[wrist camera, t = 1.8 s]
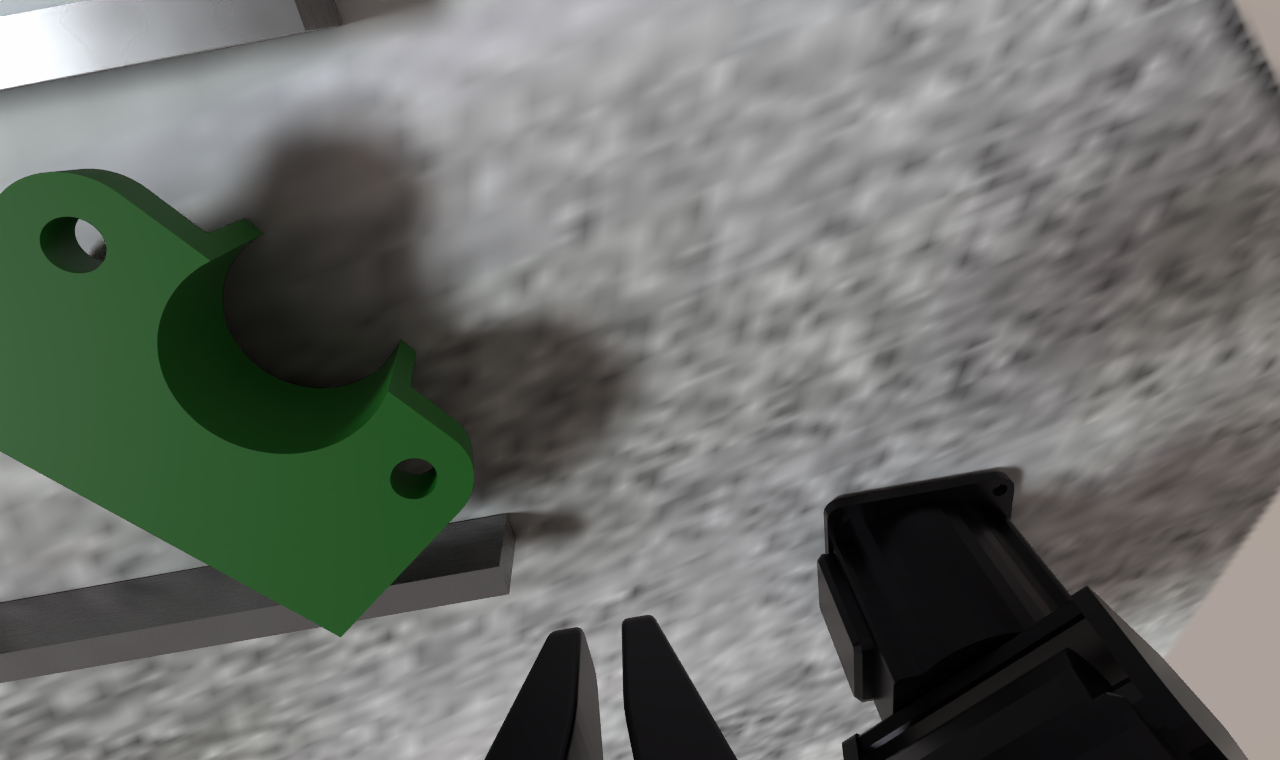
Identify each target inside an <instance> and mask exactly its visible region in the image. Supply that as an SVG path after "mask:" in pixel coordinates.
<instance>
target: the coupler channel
mask: <svg viewBox="0 0 1280 760" xmlns="http://www.w3.org/2000/svg"><path fill="white" fill-rule="evenodd" d="M337 26H342V23H341V20H340V17H339V14H338V11H337V8H336V5H335V2H334V0H86V1H81V2H75V3H70V4H65V5H60V6H55V7H49V8H44V9H39V10H34V11H29V12H23V13H18V14H13V15H8V16H3V17H0V91H1V90H6V89H11V88H17V87H22V86H27V85H32V84H38V83H43V82H48V81H53V80H59V79H64V78H69V77H74V76H80V75H85V74H90V73H95V72H101V71H106V70H111V69H116V68H122V67H127V66H132V65H137V64H143V63H148V62H153V61H158V60H164V59H169V58H174V57H179V56H185V55H190V54H195V53H200V52H206V51H211V50H216V49H221V48H227V47H232V46H237V45H242V44H248V43H253V42H258V41H263V40H269V39H274V38H279V37H284V36H290V35H295V34H300V33H305V32H311V31H316V30H321V29H326V28H332V27H337ZM515 541H516V540H515V537H514V534H513V531H512V528H511V525H510V522H509V519H508V516H507V514H502V515H496V516H491V517H485V518H479V519H474V520H468V521H462V522H457V523H451V524H447V525H446V526H445V528H444V529H443V530H442V531H441V532H440V533H439V534H438V535H437V536H436V537H435V538H434V539H433V540H432V541H431V542H430V543H429V544H428V545H427V547H426V548H425V549H424V550H423V551H422V552H421V553H420V554H419V555H418V556H417V557H416V558H415V559H414V560H413V561H412V562H411V563H410V565H409V566H408V567H407V568H406V569H405V570H404V571H403V572H402V573H401V574H400V575H399V576H398V577H397V578H396V579H395V580H394V581H393V583H392V584H391V585H390V586H389V587H388V588H387V589H386V590H385V591H384V592H383V593H382V594H381V595H380V596H379V597H378V598H377V599H376V600H375V602H374V603H373V604H372V605H371V606H370V607H369V608H368V609H367V610H366V611H365V612H364V613H363V614H362V615H361V616H360V617H359V618H358V620H363V619H369V618H375V617H380V616H386V615H392V614H398V613H403V612H409V611H415V610H420V609H426V608H432V607H438V606H443V605H449V604H455V603H461V602H466V601H472V600H478V599H483V598H489V597H495V596H501V595H506V594H509V590H510V582H511V574H512V565H513V557H514V549H515ZM358 620H357V621H358ZM318 627H321V626H319V625H317V624H316V623H314V622H312V621H310V620H308V619H306V618H305V617H303V616H301V615H299V614H297V613H295V612H294V611H292V610H290V609H288V608H286V607H284V606H283V605H281V604H279V603H277V602H275V601H273V600H272V599H270V598H268V597H266V596H264V595H262V594H261V593H259V592H257V591H255V590H253V589H251V588H250V587H248V586H246V585H244V584H242V583H240V582H239V581H237V580H235V579H233V578H231V577H229V576H228V575H226V574H224V573H222V572H220V571H218V570H217V569H215V568H213V567H211V566H208V567H202V568H197V569H191V570H185V571H180V572H174V573H168V574H163V575H157V576H151V577H146V578H140V579H134V580H129V581H123V582H117V583H112V584H106V585H101V586H95V587H89V588H84V589H78V590H72V591H67V592H61V593H55V594H50V595H44V596H38V597H33V598H27V599H21V600H16V601H10V602H4V603H0V683H3V682H9V681H14V680H20V679H26V678H31V677H37V676H43V675H49V674H54V673H60V672H66V671H72V670H77V669H83V668H89V667H94V666H100V665H106V664H112V663H117V662H123V661H129V660H134V659H140V658H146V657H152V656H157V655H163V654H169V653H174V652H180V651H186V650H192V649H197V648H203V647H209V646H215V645H220V644H226V643H232V642H237V641H243V640H249V639H255V638H260V637H266V636H272V635H277V634H283V633H289V632H295V631H300V630H306V629H312V628H318Z"/></svg>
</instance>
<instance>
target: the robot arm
mask: <svg viewBox="0 0 1280 760" xmlns="http://www.w3.org/2000/svg"><path fill="white" fill-rule="evenodd" d="M998 485H999V486H998ZM996 486H998V487H997V488H995V487H996ZM994 488H995V489H994ZM1013 494H1014V483H1013V482H1012V481H1011V480H1010V479H1009V477H1008V476H1007V475H1006V474H1005V473H1003V472H991V473H986V474H980V475H974V476H969V477H963V478H957V479H952V480H946V481H940V482H934V483H929V484H923V485H917V486H912V487H906V488H900V489H895V490H889V491H883V492H878V493H872V494H866V495H861V496H855V497H849V498H843V499H838V500H835V501H832V502H830V503H829V504H828V505H827V506H826V507H825V509H824V530H825V553H826V554H822V555H821V556H820V558H819V559H818V561H817V567H818V586H819V605H820V609H821V612H822V615H823V617H824V620H825V622H826V625H827V628H828V630H829V633H830V635H831V638H832V641H833V643H834V646H835V648H836V651H837V654H838V656H839V659H840V661H841V664H842V667H843V669H844V672H845V674H846V677H847V680H848V682H849V685H850V687H851V690H852V693H853V695H854V697H856V698H857V699H859V700H860V701H861V702H866V701H872V700H874V703H875V705H876V708H877V710H878V712H879V715H880V717H881V720H882V721H881V722H880V723H878V724H877V725H875V726H873V727H872V728H870V729H869V730H867V731H866V732H864V733H862V734H861V735H859V734H857V733H856V734H855V735H853V736H852V737H850V738H849V739H847V740H845V741H844V742H842V748H843V757H844V760H1248V758H1247V757H1246V756H1245V755H1244V753H1243V752H1242V750H1241V749H1240V748H1239V746H1238V745H1237V743H1236V742H1235V741H1234V739H1233V738H1232V737H1231V735H1230V734H1229V732H1228V731H1227V730H1226V729H1225V728H1224V726H1223V725H1222V724H1221V723H1220V722H1219V720H1217V718H1216V717H1215V716H1214V715H1213V714H1212V713H1211V712H1210V710H1209V709H1208V708H1207V707H1206V706H1205V705H1204V704H1203V702H1202V701H1201V700H1200V699H1199V698H1198V697H1197V696H1196V695H1195V694H1194V692H1193V691H1192V690H1191V689H1190V688H1189V687H1188V686H1187V685H1186V684H1185V682H1184V681H1183V680H1182V679H1181V678H1180V677H1179V676H1178V675H1177V673H1176V672H1175V671H1174V670H1173V669H1172V668H1171V667H1170V666H1169V665H1168V663H1167V662H1166V661H1165V660H1164V659H1163V658H1162V657H1161V656H1160V655H1159V654H1158V653H1157V652H1156V651H1155V650H1154V649H1153V648H1152V647H1151V646H1150V645H1149V644H1148V643H1147V642H1146V641H1145V640H1144V639H1143V638H1142V637H1140V636H1139V635H1138V634H1137V633H1136V632H1135V631H1134V630H1133V629H1132V628H1131V627H1130V626H1129V625H1128V624H1127V623H1126V622H1125V621H1124V620H1123V619H1122V618H1121V617H1120V616H1119V615H1118V614H1116V613H1115V612H1114V611H1113V610H1112V609H1111V608H1110V607H1109V606H1108V605H1107V604H1106V603H1105V602H1104V601H1103V600H1102V599H1101V598H1100V597H1099V596H1098V595H1097V594H1096V593H1095V592H1094V591H1093V590H1091V589H1090V588H1089V587H1088V586H1086V587H1084V588H1083V589H1081V590H1079V591H1078V592H1076V593H1075V594H1073V595H1072V596H1071V595H1070V594H1069V593H1068V591H1067V590H1066V589H1065V588H1064V586H1063V585H1062V584H1061V583H1060V581H1059V580H1058V579H1057V578H1056V576H1055V575H1054V574H1053V573H1052V571H1051V570H1050V569H1049V568H1048V567H1047V565H1046V564H1045V563H1044V562H1043V560H1042V559H1041V558H1040V557H1039V555H1038V554H1037V553H1036V552H1035V550H1034V549H1033V548H1032V547H1031V545H1030V544H1029V543H1028V542H1027V540H1026V539H1025V538H1024V537H1023V535H1022V534H1021V533H1020V532H1019V531H1018V529H1017V528H1016V527H1015V526H1014V524H1013V523H1012V522H1011V521H1010V518H1011V510H1012V502H1013ZM841 512H844V513H843V514H842V515H840V516H836V515H837V514H838V513H841ZM622 662H623V697H624V710H625V716H626V723H627V728H628V733H629V738H630V743H631V748H632V753H633V758H634V760H737V758H736V757H735V755H734V753H733V751H732V750H731V748H730V746H729V745H728V743H727V741H726V739H725V738H724V736H723V734H722V733H721V731H720V729H719V727H718V726H717V724H716V722H715V720H714V719H713V717H712V715H711V714H710V712H709V710H708V708H707V707H706V705H705V703H704V702H703V700H702V698H701V696H700V695H699V693H698V691H697V690H696V688H695V686H694V684H693V683H692V681H691V679H690V678H689V676H688V674H687V672H686V671H685V669H684V667H683V666H682V664H681V662H680V660H679V659H678V657H677V655H676V654H675V652H674V650H673V648H672V647H671V645H670V643H669V642H668V640H667V638H666V636H665V635H664V633H663V631H662V630H661V628H660V626H659V624H658V623H657V621H656V619H655V618H654V617H653V616H651V615H644V616H639V617H633V618H627V619H625V620H624V621H623V623H622ZM485 760H603V750H602V738H601V725H600V713H599V700H598V687H597V679H596V673H595V668H594V665H593V661H592V658H591V654H590V651H589V648H588V644H587V641H586V638H585V634H584V632H583V630H582V629H581V628H578V627H575V628H569V629H563V630H557V631H554V632H552V633H551V634H550V635H549V636H548V638H547V639H546V641H545V643H544V645H543V647H542V649H541V651H540V653H539V655H538V657H537V659H536V661H535V663H534V665H533V666H532V668H531V670H530V672H529V674H528V676H527V678H526V680H525V682H524V684H523V686H522V688H521V690H520V692H519V694H518V696H517V698H516V699H515V701H514V703H513V705H512V707H511V709H510V711H509V713H508V715H507V717H506V719H505V721H504V723H503V725H502V727H501V729H500V730H499V732H498V734H497V736H496V738H495V740H494V742H493V744H492V746H491V748H490V750H489V752H488V754H487V756H486V758H485Z"/></svg>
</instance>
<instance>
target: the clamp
mask: <svg viewBox="0 0 1280 760" xmlns="http://www.w3.org/2000/svg"><path fill="white" fill-rule="evenodd" d="M78 219H82V220H84V221H86V222H88V223H90V224H91V225H93V226H94V227H95V228H96V229H97V230H98V231H99V232H100V233H101V235H102V236H103V238H104V240H105V243H106V248H107V252H106V257H105V260H104V261H101V260H98V259H95V258H93V257H91V256H90V255H88V254H87V253H86V252H85V251H84V250H83V249H82V248H81V247H80V245H79V244H78V242H77V240H76V237H75V226H76V223H77V221H78ZM261 234H263V232H262V231H260V230H259V229H258V228H256V227H255V226H254V225H253V224H251V223H250V222H249V221H247V220H246V219H242V220H240V221H237V222H235V223H232V224H230V225H227V226H225V227H222V228H220V229H217V230H215V231H212V232H210V233H206V232H204V231H203V230H202V229H200V228H199V227H198V226H196V225H195V224H194V223H192V222H191V221H190V220H188V219H187V218H186V217H184V216H183V215H182V214H180V213H179V212H178V211H176V210H175V209H174V208H172V207H171V206H170V205H168V204H167V203H166V202H164V201H163V200H162V199H160V198H159V197H158V196H156V195H155V194H154V193H152V192H151V191H150V190H148V189H147V188H146V187H144V186H143V185H141V184H140V183H138V182H136V181H134V180H133V179H130V178H128V177H126V176H124V175H121V174H118V173H115V172H111V171H106V170H100V169H78V170H67V171H56V172H46V173H39V174H34V175H30V176H27V177H24V178H22V179H20V180H18V181H16V182H14V183H13V184H11V185H10V186H9V187H7V188H6V189H5V190H4V191H3V192H2V193H1V194H0V451H1V452H2V453H4V454H6V455H8V456H10V457H12V458H13V459H15V460H17V461H19V462H21V463H23V464H24V465H26V466H28V467H30V468H32V469H34V470H35V471H37V472H39V473H41V474H43V475H45V476H46V477H48V478H50V479H52V480H54V481H56V482H57V483H59V484H61V485H63V486H65V487H67V488H68V489H70V490H72V491H74V492H76V493H78V494H79V495H81V496H83V497H85V498H87V499H89V500H90V501H92V502H94V503H96V504H98V505H100V506H101V507H103V508H105V509H107V510H109V511H110V512H112V513H114V514H116V515H118V516H120V517H121V518H123V519H125V520H127V521H129V522H131V523H132V524H134V525H136V526H138V527H140V528H142V529H143V530H145V531H147V532H149V533H151V534H153V535H154V536H156V537H158V538H160V539H162V540H164V541H165V542H167V543H169V544H171V545H173V546H175V547H176V548H178V549H180V550H182V551H184V552H186V553H187V554H189V555H191V556H193V557H195V558H197V559H198V560H200V561H202V562H204V563H206V564H208V565H209V566H211V567H213V568H215V569H217V570H218V571H220V572H222V573H224V574H226V575H228V576H229V577H231V578H233V579H235V580H237V581H239V582H240V583H242V584H244V585H246V586H248V587H250V588H251V589H253V590H255V591H257V592H259V593H261V594H262V595H264V596H266V597H268V598H270V599H272V600H273V601H275V602H277V603H279V604H281V605H283V606H284V607H286V608H288V609H290V610H292V611H294V612H295V613H297V614H299V615H301V616H303V617H305V618H306V619H308V620H310V621H312V622H314V623H316V624H317V625H319V626H321V627H323V628H325V629H326V630H328V631H330V632H332V633H334V634H336V635H337V636H339V637H341V636H342V635H343V634H344V633H345V632H346V631H347V630H348V629H349V628H350V627H351V626H352V625H353V624H354V623H355V622H356V621H357V620H358V618H359V617H360V616H361V615H362V614H363V613H364V612H365V611H366V610H367V609H368V608H369V607H370V606H371V605H372V604H373V603H374V602H375V600H376V599H377V598H378V597H379V596H380V595H381V594H382V593H383V592H384V591H385V590H386V589H387V588H388V587H389V586H390V585H391V584H392V583H393V581H394V580H395V579H396V578H397V577H398V576H399V575H400V574H401V573H402V572H403V571H404V570H405V569H406V568H407V567H408V566H409V565H410V563H411V562H412V561H413V560H414V559H415V558H416V557H417V556H418V555H419V554H420V553H421V552H422V551H423V550H424V549H425V548H426V547H427V545H428V544H429V543H430V542H431V541H432V540H433V539H434V538H435V537H436V536H437V535H438V534H439V533H440V532H441V531H442V530H443V529H444V528H445V526H446V525H447V524H448V523H449V522H450V521H451V520H452V519H453V518H454V517H455V516H456V515H457V514H458V513H459V512H460V511H461V509H462V508H463V507H464V506H465V504H466V503H467V501H468V499H469V498H470V495H471V493H472V489H473V485H474V467H473V453H472V445H471V442H470V439H469V436H468V434H467V433H466V431H465V429H464V428H463V427H462V426H461V425H460V424H459V423H458V422H457V421H456V420H455V419H454V418H452V417H451V416H450V415H448V414H447V413H446V412H444V411H443V410H442V409H440V408H439V407H438V406H436V405H435V404H434V403H432V402H431V401H430V400H428V399H427V398H426V397H424V396H423V395H422V394H420V393H419V392H418V391H416V390H415V389H414V388H412V387H411V380H412V374H413V368H414V362H415V355H416V351H415V350H413V349H412V348H411V347H410V346H408V345H407V344H406V343H404V342H403V341H402V340H400V342H399V344H398V346H397V348H396V349H395V351H394V353H393V354H392V355H391V357H390V358H389V359H388V360H387V361H386V362H385V364H384V365H383V366H381V367H380V368H379V369H378V370H377V371H375V372H374V373H372V374H371V375H369V376H368V377H366V378H364V379H362V380H360V381H357V382H355V383H352V384H348V385H345V386H340V387H334V388H310V387H303V386H298V385H294V384H291V383H287V382H285V381H282V380H280V379H278V378H276V377H274V376H272V375H270V374H268V373H267V372H265V371H263V370H262V369H261V368H259V367H258V366H257V365H255V364H254V363H253V362H252V361H251V360H250V359H249V358H248V357H247V356H246V355H245V354H244V353H243V352H242V351H241V349H240V348H239V347H238V345H237V344H236V342H235V341H234V339H233V337H232V335H231V333H230V331H229V329H228V326H227V323H226V320H225V317H224V311H223V302H222V296H223V287H224V281H225V278H226V275H227V272H228V270H229V268H230V266H231V264H232V262H233V261H234V259H235V257H236V256H237V255H238V254H239V252H240V251H241V250H242V249H243V248H244V247H245V246H246V245H247V244H248V243H249V242H251V241H252V240H253V239H255V238H256V237H258V236H260V235H261ZM411 458H418V459H423V460H425V461H427V462H429V463H430V464H431V465H432V466H433V468H432V469H431V470H429V471H428V472H426V473H423V474H410V473H407V472H405V471H403V470H401V469H400V468H399V467H398V465H397V464H398V463H400V462H401V461H403V460H406V459H411Z"/></svg>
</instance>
